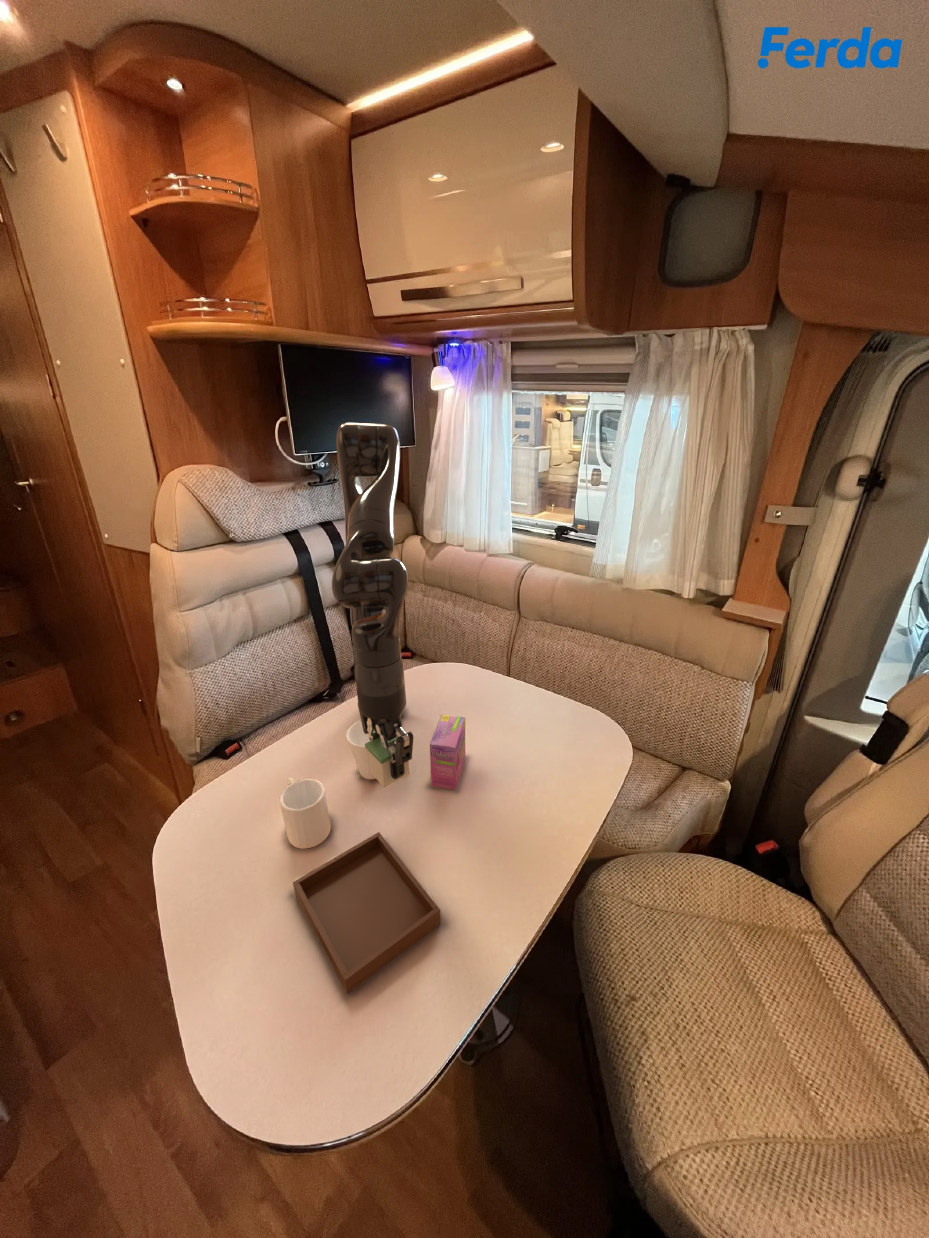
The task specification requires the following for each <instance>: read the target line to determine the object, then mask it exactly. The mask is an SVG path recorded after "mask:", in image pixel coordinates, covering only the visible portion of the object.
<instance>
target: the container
mask: <svg viewBox="0 0 929 1238" xmlns="http://www.w3.org/2000/svg"><path fill="white" fill-rule="evenodd" d="M396 738H397V737H395V738H394V739H391V740H389V741H388V743H390V742H392V741H394V740H396ZM365 748H366V749H367V753H368V762H369V770H370V773H371V774H372V775H373V776H374V777H375V778H376V779H375V780H377V782H378V783H379V784H380V785H381V786H382V787H383V788H385V789H386V788H387V787H388V786H390V785H392V784H394V783H396V782H398V781H400V780H402V779H404V778H405V777H407V776H409V775H410V773H411V772H410V760H409V761H407V762H405V763H404V770H405V773H404V775H403V776H401V777H399V778H397V779H393V778H392V777H391V769H390V759H389V755H388V752H387V750H385V749H384V748H383V745H382V742H381V738H380V737H378V738H376V739H374V740H372V741H370V742H368V743H366V744H365ZM395 750H396V747H395V748H394V749H393V752H394V754H395Z"/></svg>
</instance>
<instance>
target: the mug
mask: <svg viewBox="0 0 929 1238" xmlns="http://www.w3.org/2000/svg"><path fill="white" fill-rule="evenodd" d="M325 789H326V788H325V786H324V784H323V783H322V782H321V781H319V780H318V779H313V778H303V779H298V780H296V781H295V779H294V778H292V777H289V778H288V786H286V787H285V788H284V789H283V790H282V792H281V793H280V796H279V805H280V809H281V814H282V819H283V823H284V828H285V832H286V836H287V839H288V842H289V844H290V845H292V846H293V847H295V848H298V849H310V848H313V847H316V846H319V845H320V844H322V843H323V842H324V841H325V840H326V839H327V838H328V836H329V834H330V833H331V829H332V825H331V819H330V812H329V807H328V802H327V801H328V800H327V797H326V795H327V794H326V790H325Z"/></svg>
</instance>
